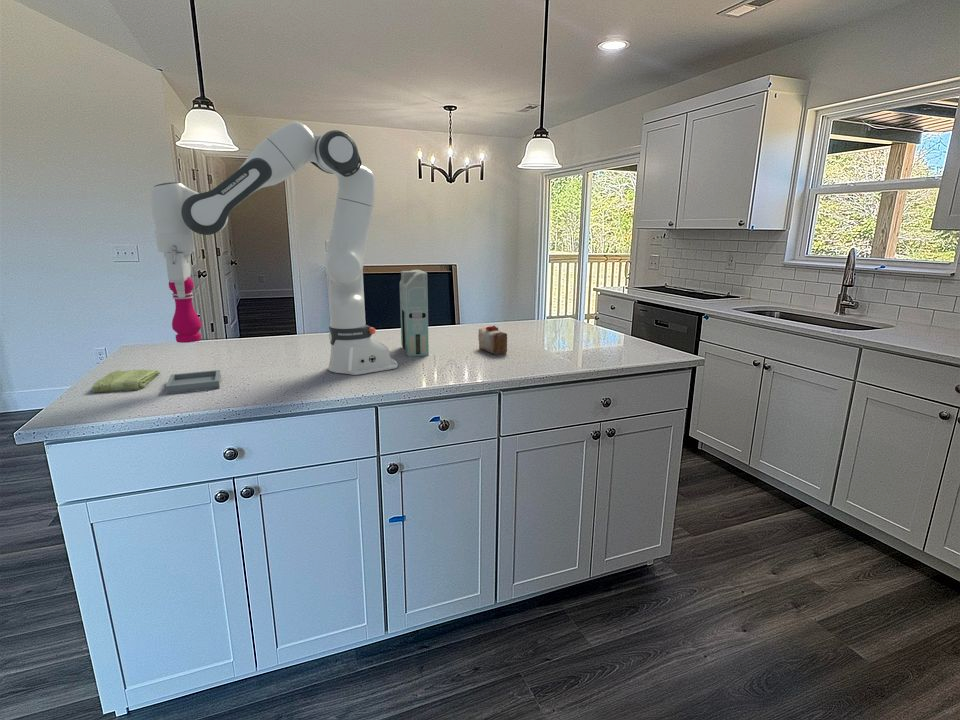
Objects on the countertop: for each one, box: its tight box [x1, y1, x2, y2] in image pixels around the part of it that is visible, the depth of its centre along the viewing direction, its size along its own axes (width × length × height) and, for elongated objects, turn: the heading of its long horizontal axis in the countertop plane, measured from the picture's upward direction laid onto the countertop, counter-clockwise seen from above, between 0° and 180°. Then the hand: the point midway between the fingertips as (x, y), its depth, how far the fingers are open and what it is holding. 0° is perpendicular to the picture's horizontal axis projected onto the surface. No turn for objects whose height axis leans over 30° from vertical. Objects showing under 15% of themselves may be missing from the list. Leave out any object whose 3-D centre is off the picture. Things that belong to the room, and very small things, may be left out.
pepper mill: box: [168, 277, 202, 344], centre depth 139 cm, size 7×7×20 cm
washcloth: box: [91, 368, 161, 393], centre depth 146 cm, size 13×18×3 cm
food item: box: [477, 325, 508, 356], centre depth 189 cm, size 14×8×10 cm, turn 27°
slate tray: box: [165, 369, 222, 395], centre depth 144 cm, size 13×13×2 cm
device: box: [399, 269, 430, 357], centre depth 184 cm, size 16×8×30 cm, turn 17°
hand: (183, 296), depth 138 cm, fingers closed on pepper mill, 5 cm apart
